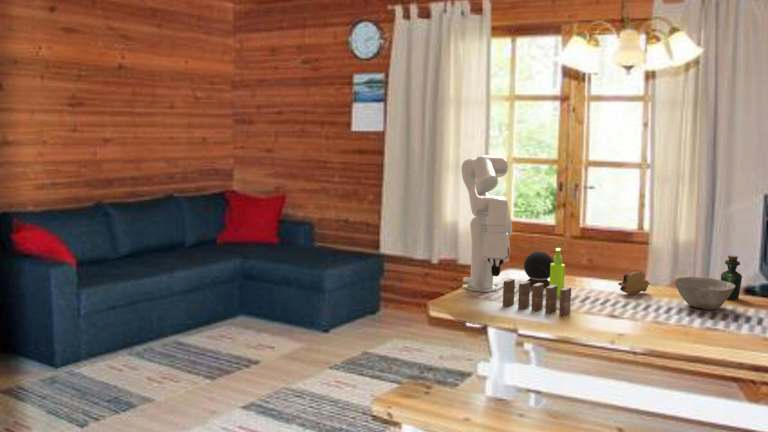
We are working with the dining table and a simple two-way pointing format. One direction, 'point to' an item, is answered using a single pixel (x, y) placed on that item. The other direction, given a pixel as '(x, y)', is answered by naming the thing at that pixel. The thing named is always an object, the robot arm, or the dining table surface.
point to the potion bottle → (732, 276)
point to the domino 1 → (508, 292)
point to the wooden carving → (634, 283)
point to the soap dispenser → (557, 272)
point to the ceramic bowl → (704, 291)
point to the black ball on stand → (538, 268)
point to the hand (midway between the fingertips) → (495, 275)
